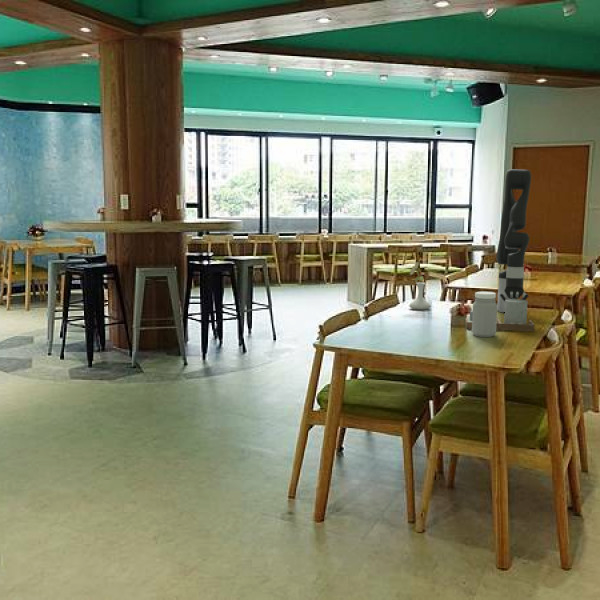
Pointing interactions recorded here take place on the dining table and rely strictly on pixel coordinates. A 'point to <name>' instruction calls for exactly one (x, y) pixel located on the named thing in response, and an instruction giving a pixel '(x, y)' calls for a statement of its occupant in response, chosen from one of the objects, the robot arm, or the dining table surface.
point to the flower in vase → (419, 293)
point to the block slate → (471, 314)
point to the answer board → (508, 326)
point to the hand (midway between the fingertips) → (512, 314)
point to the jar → (484, 314)
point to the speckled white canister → (515, 311)
